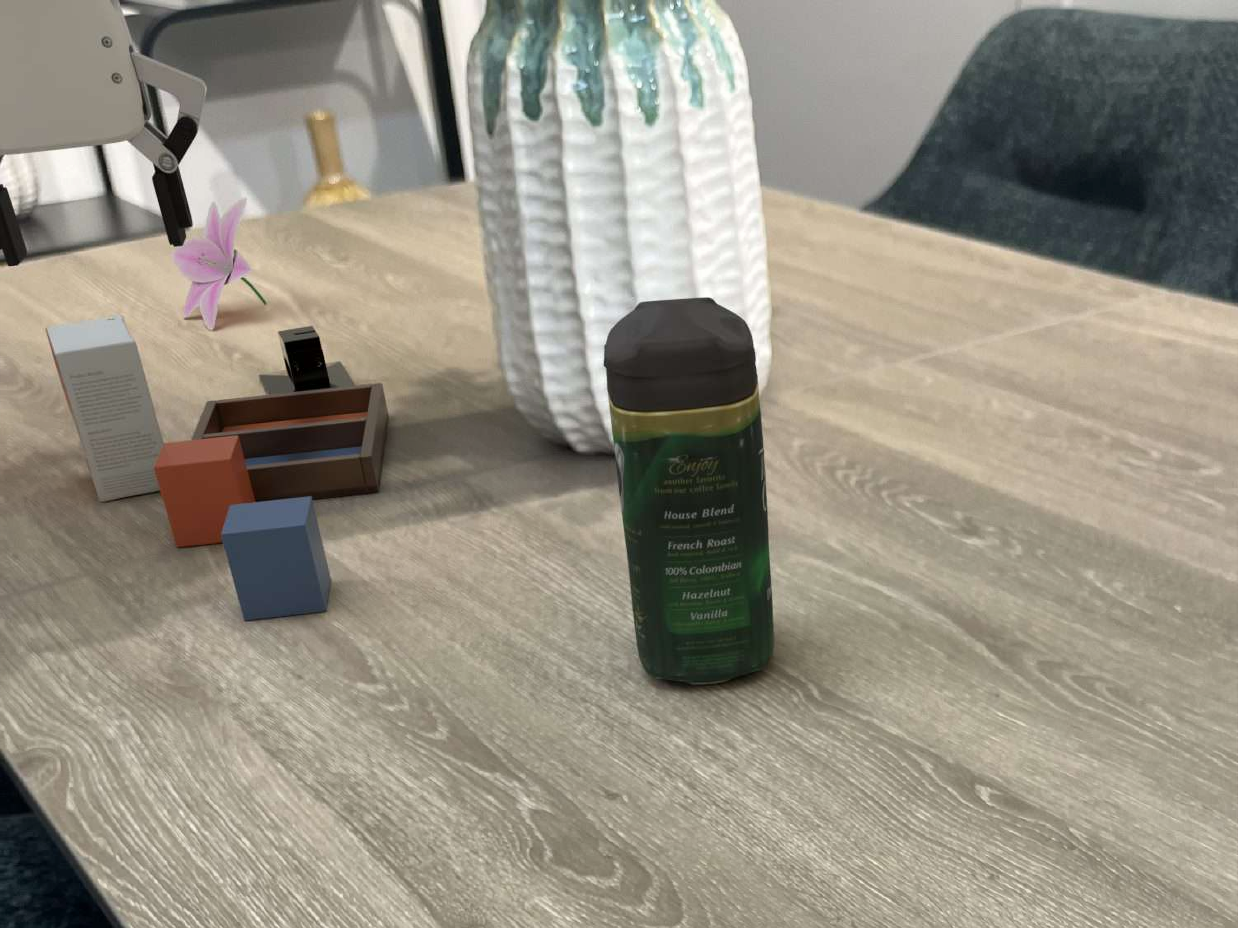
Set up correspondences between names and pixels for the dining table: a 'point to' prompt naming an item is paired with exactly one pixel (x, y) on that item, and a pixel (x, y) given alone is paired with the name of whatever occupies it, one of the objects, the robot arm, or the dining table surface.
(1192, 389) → the dining table surface
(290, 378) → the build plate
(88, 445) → the small box
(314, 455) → the sorting tray
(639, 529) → the coffee jar
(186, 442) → the terracotta block
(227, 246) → the lily
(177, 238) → the robot arm
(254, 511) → the blue block
